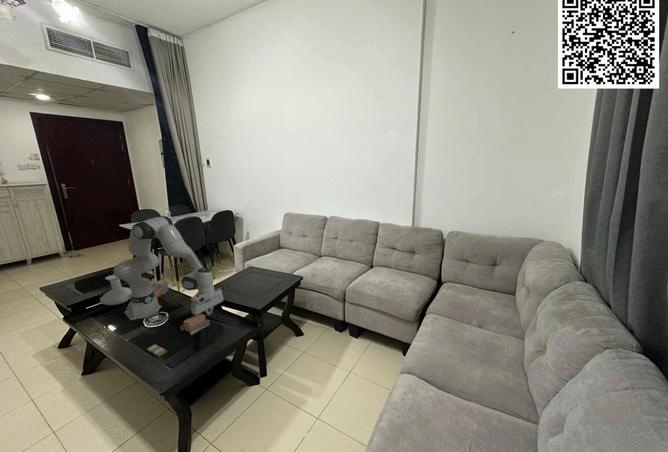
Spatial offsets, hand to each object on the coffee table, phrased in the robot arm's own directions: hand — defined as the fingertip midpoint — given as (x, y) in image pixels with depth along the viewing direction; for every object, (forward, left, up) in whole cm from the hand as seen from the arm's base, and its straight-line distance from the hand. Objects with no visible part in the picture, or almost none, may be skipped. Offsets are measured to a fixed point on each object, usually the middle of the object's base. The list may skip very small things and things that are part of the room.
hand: (209, 314), depth 164 cm
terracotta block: (0, -10, -3) cm, 10 cm away
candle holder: (-84, -14, -5) cm, 85 cm away
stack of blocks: (-67, +2, -5) cm, 67 cm away
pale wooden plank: (0, -18, -4) cm, 18 cm away
